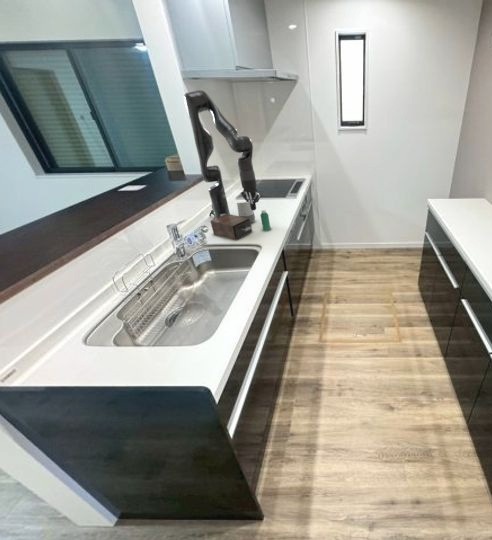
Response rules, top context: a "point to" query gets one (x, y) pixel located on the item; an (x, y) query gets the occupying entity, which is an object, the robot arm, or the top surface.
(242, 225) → the drawer
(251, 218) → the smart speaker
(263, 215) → the soap bottle
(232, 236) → the cabinet
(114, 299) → the top surface
